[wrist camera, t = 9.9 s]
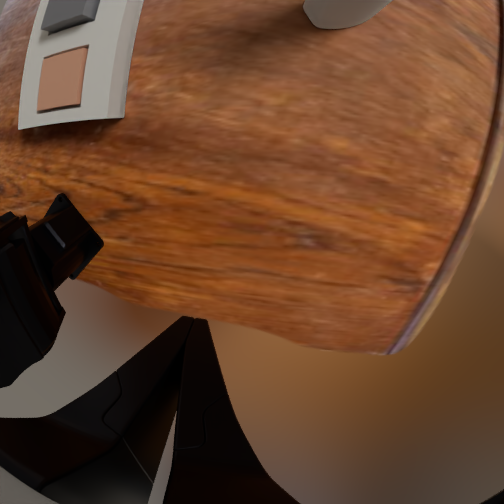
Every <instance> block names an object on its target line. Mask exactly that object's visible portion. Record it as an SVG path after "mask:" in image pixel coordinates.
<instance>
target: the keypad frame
mask: <svg viewBox="0 0 504 504" xmlns="http://www.w3.org/2000/svg"><path fill="white" fill-rule="evenodd" d="M143 1H144V0H100V3H99V7H98V10H97V14H96V18H95V21H92V22H88V23H85V24H81V25H78V26H75V27H72V28H68V29H65V30H62V31H59V32H57V33H53V32H49V31H45V30H41V25H42V22H43V18H44V15H45V12H46V8H47V5H48V2H49V0H41V2H40V5H39V8H38V12H37V15H36V18H35V22H34V25H33V29H32V33H31V37H30V41H29V45H28V50H27V55H26V60H25V66H24V72H23V79H22V86H21V95H20V106H19V123H18V130H20V129H25V128H31V127H37V126H43V125H49V124H56V123H64V122H73V121H82V120H94V119H108V118H124V113H125V102H126V93H127V85H128V77H129V70H130V63H131V57H132V51H133V46H134V41H135V36H136V31H137V26H138V22H139V17H140V13H141V9H142V5H143ZM81 48H86V49H88V54H87V60H86V66H85V72H84V80H83V88H82V97H81V105H78V106H71V107H64V108H58V109H52V110H40V111H37V104H38V93H39V85H40V77H41V70H42V64H43V60H44V59H47V58H50V57H53V56H56V55H59V54H63V53H66V52H70V51H73V50H77V49H81Z"/></svg>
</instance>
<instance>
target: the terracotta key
mask: <svg viewBox="0 0 504 504" xmlns="http://www.w3.org/2000/svg"><path fill="white" fill-rule="evenodd" d="M87 54H88V49H86V48H81V49H77V50H73V51H70V52H66V53H63V54H59V55H56V56H53V57H50V58H47V59H44V60H43V64H42V70H41V77H40V85H39V93H38V104H37V111H40V110H52V109H58V108H64V107H71V106H78V105H81V97H82V88H83V80H84V72H85V66H86V60H87Z"/></svg>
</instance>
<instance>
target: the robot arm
mask: <svg viewBox="0 0 504 504" xmlns="http://www.w3.org/2000/svg"><path fill="white" fill-rule="evenodd" d="M61 198H62V200H61ZM27 222H28V221H27V218H26V215H24V216H22V217H18V216H15V215H14V214H13V213H12V212H11V211H10V212H7V213H5V214H4V215H2V216H0V388H3V387H7V386H10V385H11V384H12V383H13V382H14V381H15V380H16V379H17V378H18V376H19V375H20V374H21V373H22V372H23V371H24V370H26V369H27V368H28V367H30V366H31V365H32V364H34V363H36V362H38V361H40V360H41V359H43V358H44V356H45V355H46V354H47V353H48V352H49V351H50V349H51V348H52V346H53V344H54V342H55V340H56V337H57V333H58V331H59V329H60V326H61V323H62V321H63V318H64V316H65V313H66V312H65V310H64V308H63V307H62V306H61V304H60V302H59V301H58V298H57V296H56V295H55V292H54V291H55V290H56V289H57V288H58V287H59V286H60V285H61V284H62V283H63V282H64V281H65V280H66V279H67V278H68V277H69V278H70V279H72V280H74V279H75V278H76V277H77V276H78V275H79V274H80V272H81V271H82V270H83V269H84V268H85V267H86V265H87V264H88V263H89V262H90V261H91V260H92V258H93V257H94V256H95V255H96V254H97V253H98V252H99V251H100V249H101V248H102V247H103V246H104V242H103V240H102V239H101V238H100V237H99V235H98V234H97V233H96V232H95V231H94V230H93V228H92V227H91V226H90V225H89V224H88V222H87V221H86V220H85V219H84V218H83V216H82V215H81V214H80V213H79V211H78V210H77V209H76V208H75V206H74V205H73V204H72V203H71V201H70V200H69V199H68V198H67V196H66V195H65V194H64V193H61V194H59V195H57V197H56V198H55V200H54V202H53V203H52V205H51V206H50V208H49V210H48V211H47V213H46V215H45V216H44V218H43V219H41V220H40V221H38V222H36V223H35V224H33V225H31V226H30V227H28V224H27ZM97 242H98V243H99V245H98V244H97ZM72 274H73V275H72ZM176 411H177V414H176ZM175 414H176V424H175V434H174V446H173V458H172V467H171V471H170V475H169V480H168V484H167V487H166V492H165V496H164V500H163V504H300V503H299V502H298V501H296V500H295V499H294V498H293V497H292V496H291V495H289V494H288V493H287V492H286V491H285V490H284V489H283V488H281V487H280V486H279V485H278V484H277V483H276V482H275V481H274V480H273V479H272V478H271V477H270V476H269V475H268V473H267V472H266V471H265V469H264V468H263V466H262V465H261V463H260V461H259V460H258V458H257V456H256V455H255V453H254V451H253V449H252V447H251V446H250V444H249V442H248V440H247V438H246V436H245V434H244V433H243V431H242V429H241V426H240V424H239V422H238V420H237V418H236V415H235V413H234V410H233V407H232V404H231V401H230V398H229V395H228V392H227V389H226V385H225V382H224V379H223V375H222V372H221V368H220V365H219V362H218V358H217V354H216V351H215V347H214V343H213V340H212V336H211V332H210V329H209V325H208V321H207V320H206V319H201V318H195V319H194V318H193V317H188V316H182V317H180V318H179V319H178V320H177V321H175V322H174V323H173V324H172V325H171V326H169V327H168V328H167V329H166V330H165V331H163V332H162V333H161V334H160V335H159V336H157V337H156V338H155V339H154V340H153V341H151V342H150V343H149V344H148V345H146V346H145V347H144V348H143V349H142V350H140V351H139V352H138V353H137V354H135V355H134V356H133V357H132V358H131V359H129V360H128V361H127V362H126V363H125V364H123V365H122V366H121V367H120V368H118V369H117V372H116V371H115V372H114V373H112V374H111V375H110V376H109V377H107V378H106V379H105V380H103V381H102V382H101V383H99V384H98V385H97V386H95V387H94V388H92V389H91V390H89V391H88V392H87V393H85V394H84V395H82V396H81V397H79V398H77V399H75V400H74V401H72V402H71V403H69V404H67V405H66V406H64V407H62V408H61V409H59V410H57V411H56V412H54V413H52V414H50V415H47V416H43V417H38V418H0V504H148V501H149V497H150V494H151V491H152V487H153V483H154V480H155V477H156V474H157V471H158V467H159V464H160V461H161V458H162V454H163V451H164V448H165V445H166V442H167V439H168V435H169V432H170V429H171V426H172V423H173V420H174V417H175ZM479 504H504V489H503V490H502V491H500V492H498V493H497V494H495V495H493V496H492V497H490V498H488V499H487V500H485V501H483V502H481V503H479Z"/></svg>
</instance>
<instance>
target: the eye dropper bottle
mask: <svg viewBox="0 0 504 504" xmlns="http://www.w3.org/2000/svg"><path fill="white" fill-rule="evenodd" d="M391 1H393V0H305V2H304V5H303V9H304V11H305V13H306V15H307V16H308V18H309V19H310V21H311V22H312V23H313V24H314V25H315V26H316V27H318V28H323V29H342V28H349V27H353V26H356V25H359V24H361V23H363V22H365V21H367V20H369V19H370V18H372V17H373V16H374V15H376V14H377V13H378V12H379V11H380V10H382V9H383V8H384V7H385V6H386V5H388V4H389V3H390V2H391Z"/></svg>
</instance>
